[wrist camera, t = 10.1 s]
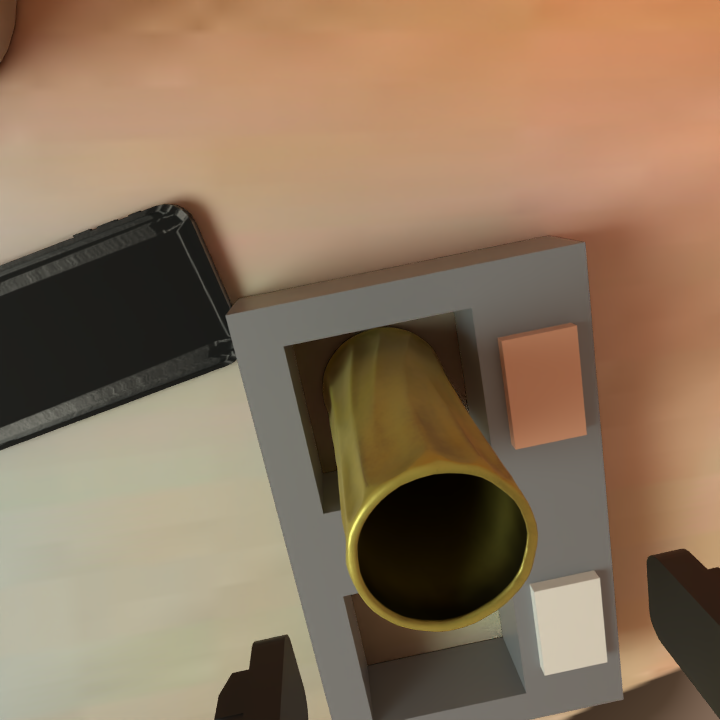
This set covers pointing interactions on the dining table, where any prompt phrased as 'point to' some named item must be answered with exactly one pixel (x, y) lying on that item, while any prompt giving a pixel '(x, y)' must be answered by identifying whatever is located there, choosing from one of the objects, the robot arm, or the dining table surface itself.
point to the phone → (108, 321)
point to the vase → (421, 489)
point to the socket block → (508, 440)
